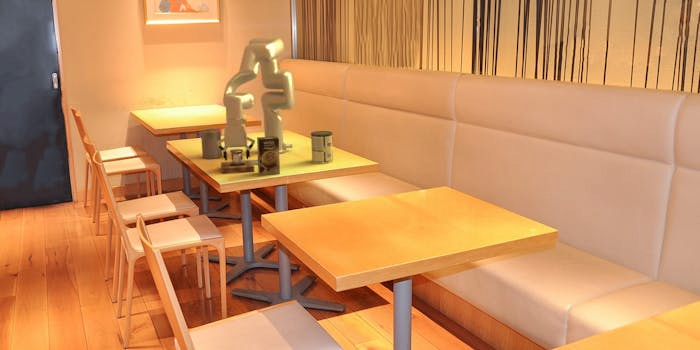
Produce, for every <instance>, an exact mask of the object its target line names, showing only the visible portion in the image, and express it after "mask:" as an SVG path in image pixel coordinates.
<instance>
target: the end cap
mask: <svg viewBox="0 0 700 350" xmlns="http://www.w3.org/2000/svg"><path fill="white" fill-rule="evenodd" d="M243 152H244V150H243V149H241V148H235V149H234V148H233V149H230V150H229V153H230V159H231V160H230V161H231V162H232V166H243V160H244V159H243Z"/></svg>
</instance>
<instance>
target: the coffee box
mask: <svg viewBox="0 0 700 350" xmlns="http://www.w3.org/2000/svg"><path fill="white" fill-rule="evenodd" d="M256 144H257V160H258V165H257V170H258V171H257V173H258V174H259V176H266V175H267V176H268V175H269V176H270V175H280V174H281V168H280V167H281V166H280V161H281V159H280V154H279V138H278V137H265V136H261V137H259V136H258V137H257V138H256Z"/></svg>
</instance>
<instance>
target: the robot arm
mask: <svg viewBox="0 0 700 350" xmlns="http://www.w3.org/2000/svg"><path fill="white" fill-rule="evenodd" d="M284 50H285V44H284V41H283V40H282V39H281V38H279V37H254V38H251V39H250V40H249V41H248V44H247V45H246V46H245V47H244V50H243V53H242V54H243V55H242V57H241V62H240V66H239V67H240V68H239V70H238V72H237V73H235V74H234V75H233V76H232V77H231V79H230V80H229V81H227V84H225V89H224V92H223V93H224V94H223V98H222V102H223V103H222V104H223V106H224V107H225V117H226V118H225V119H226V124H225V125H224V129H223V131H224V133H223V134H224V135H223V138H221V140H219V141H218V142H217V145H218V147H219V148H220V149H221V150H222V157H223V159H224V161H228V152H227V150H228V149H229V148H245V158H246V160H249V158H250V157H251V153H250V151H251V149H253V147H254V145H255V143H256V140H255V139H253V138H251V137H248V135H247V129H246V128H247V127H246V124H245V123H247V121H248V120H247V118H244V110H250V109H252V108H253V107H254V106H255V102H256V99H255V96H254V95H253V94H252V93H249V92H236V91H237V89H238V88H239V87H240V86H242V85H243V84H247V83H248V82H250V81H252V80H255V79H256V78H257V77H258V72H259V68H260V74H261V83H262V86H263V88H265V89H269V90H268V91H265V92H263V93H262V94H261V97H260V103H261V109H262V113H263V128H264V129H263V130H264V137H278V138H279V155H280V154H283V153H287V149H293V143H285V142H284V128H283V125H284V124H283V117H282V115H281V113H280V111H291V110H293V109H294V108H295V105H296V95H295V94H296V92H295V84H294V83H295V81H294V76H293V74H292V72H291V71H289V70H285V69H283V70H281V69H279V68H278V67H279V66H278V60H277V58H279V57H280V56H281V55H283V53H284ZM280 90H282V91H280ZM248 142H251V143H250V144H249V145H248ZM222 143H224V146H222Z"/></svg>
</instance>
